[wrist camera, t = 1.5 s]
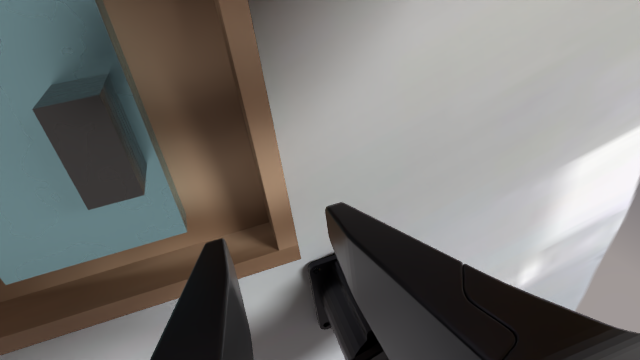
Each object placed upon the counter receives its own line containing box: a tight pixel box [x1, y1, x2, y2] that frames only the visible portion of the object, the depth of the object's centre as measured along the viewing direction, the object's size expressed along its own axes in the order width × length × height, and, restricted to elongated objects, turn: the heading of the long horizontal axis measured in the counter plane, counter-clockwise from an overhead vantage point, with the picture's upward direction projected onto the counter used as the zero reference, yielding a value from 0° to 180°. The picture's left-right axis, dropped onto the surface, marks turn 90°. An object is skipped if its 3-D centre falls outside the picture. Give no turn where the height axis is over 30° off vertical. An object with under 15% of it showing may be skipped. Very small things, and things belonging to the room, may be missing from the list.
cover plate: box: [0, 0, 187, 285], centre depth 15 cm, size 12×8×4 cm, turn 7°
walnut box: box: [0, 0, 301, 355], centre depth 16 cm, size 18×20×4 cm
